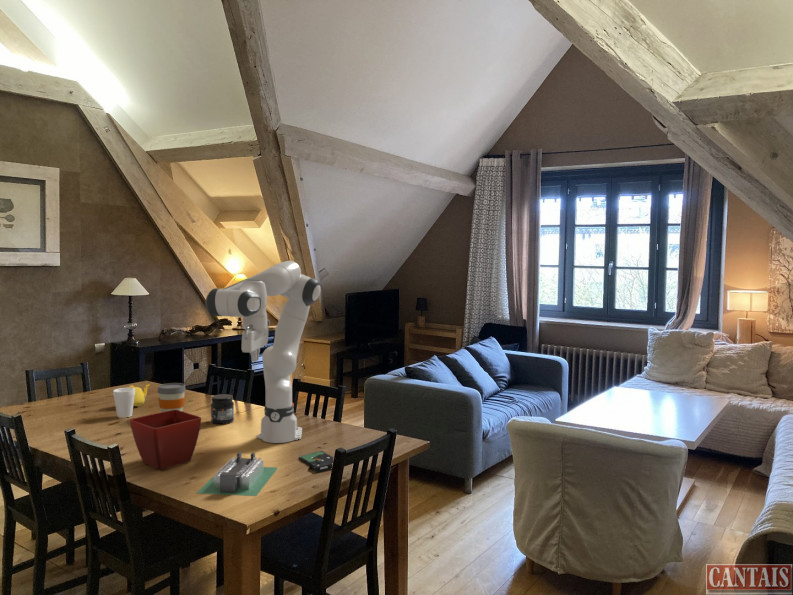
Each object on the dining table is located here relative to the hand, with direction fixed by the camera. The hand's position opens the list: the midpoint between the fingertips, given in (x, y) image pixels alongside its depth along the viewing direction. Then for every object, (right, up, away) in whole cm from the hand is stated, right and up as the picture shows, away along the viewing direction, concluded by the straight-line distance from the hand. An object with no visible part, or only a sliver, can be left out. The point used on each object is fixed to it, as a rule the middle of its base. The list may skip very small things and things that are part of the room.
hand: (255, 360), depth 224 cm
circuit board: (-2, -40, -15) cm, 43 cm away
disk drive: (+23, -40, +4) cm, 46 cm away
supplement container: (-29, -35, +59) cm, 75 cm away
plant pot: (-34, -39, +5) cm, 52 cm away
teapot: (-82, -32, +85) cm, 123 cm away
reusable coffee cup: (-55, -34, +67) cm, 94 cm away
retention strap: (-2, -36, -16) cm, 40 cm away
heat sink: (-2, -39, -17) cm, 43 cm away
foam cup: (-78, -34, +66) cm, 107 cm away
